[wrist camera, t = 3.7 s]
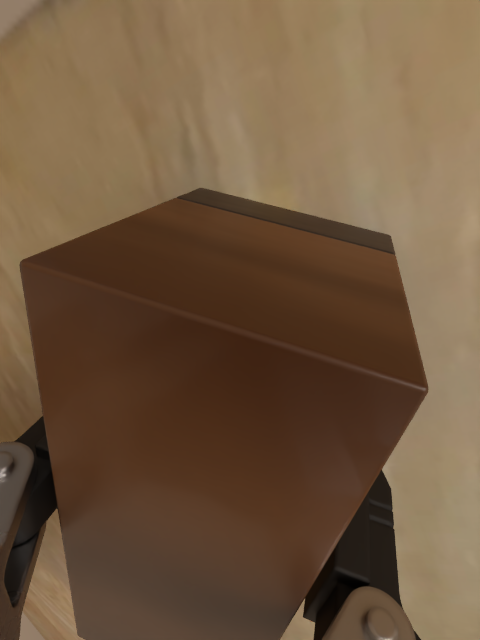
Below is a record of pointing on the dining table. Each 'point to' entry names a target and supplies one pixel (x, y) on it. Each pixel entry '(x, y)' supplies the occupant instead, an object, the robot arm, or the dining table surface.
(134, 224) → the eraser
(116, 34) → the dining table surface
